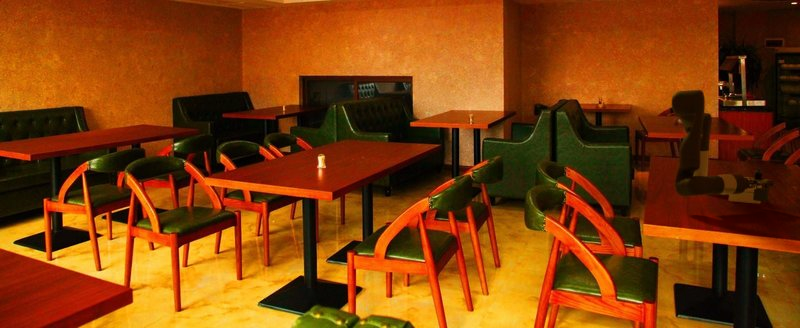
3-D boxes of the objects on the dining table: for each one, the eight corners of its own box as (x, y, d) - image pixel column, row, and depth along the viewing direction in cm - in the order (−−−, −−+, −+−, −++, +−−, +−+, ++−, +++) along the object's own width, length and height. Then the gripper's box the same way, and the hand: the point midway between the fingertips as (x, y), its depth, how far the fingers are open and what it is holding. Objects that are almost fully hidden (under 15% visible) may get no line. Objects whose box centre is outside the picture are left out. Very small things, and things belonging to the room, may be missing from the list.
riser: (728, 200, 249) (729, 190, 248) (728, 195, 259) (729, 185, 258) (760, 203, 244) (761, 193, 243) (759, 198, 253) (760, 188, 253)
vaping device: (752, 198, 239) (755, 168, 237) (768, 200, 236) (771, 169, 233) (751, 200, 237) (754, 169, 235) (767, 202, 234) (770, 170, 231)
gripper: (743, 177, 225) (784, 175, 228) (716, 170, 238) (754, 168, 242) (741, 198, 226) (782, 195, 229) (714, 190, 240) (752, 187, 243)
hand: (767, 182), depth 236 cm, fingers closed on vaping device, 4 cm apart
